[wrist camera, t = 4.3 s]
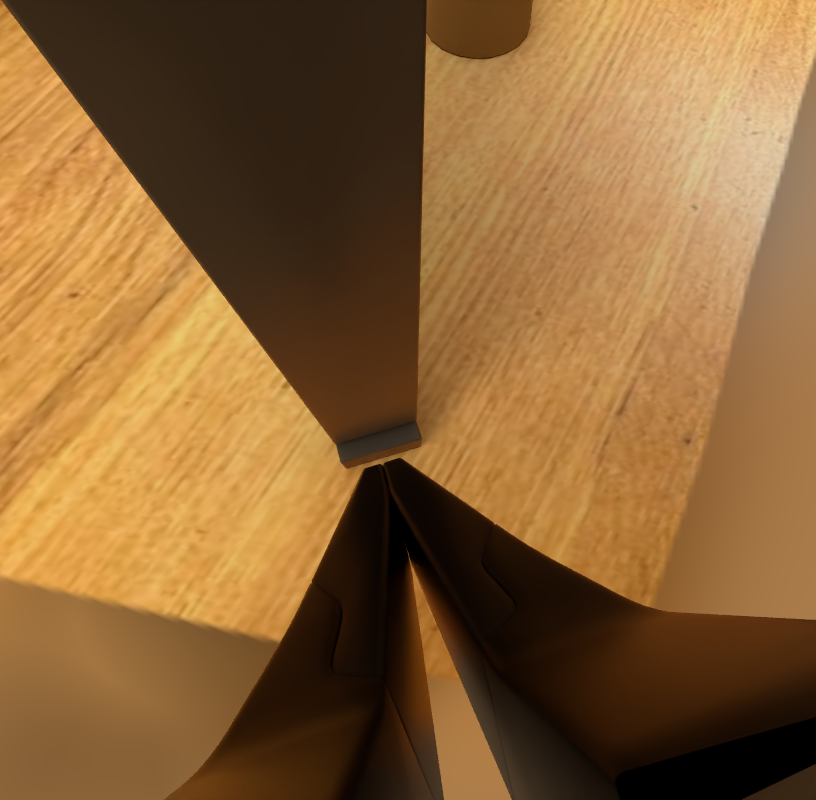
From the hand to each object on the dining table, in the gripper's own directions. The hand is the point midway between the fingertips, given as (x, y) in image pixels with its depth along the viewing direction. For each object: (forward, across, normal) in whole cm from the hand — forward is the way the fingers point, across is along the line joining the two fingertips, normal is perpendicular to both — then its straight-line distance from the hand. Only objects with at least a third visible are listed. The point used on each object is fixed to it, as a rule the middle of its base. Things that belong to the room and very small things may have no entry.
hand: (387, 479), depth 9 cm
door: (+9, 0, -1) cm, 9 cm away
